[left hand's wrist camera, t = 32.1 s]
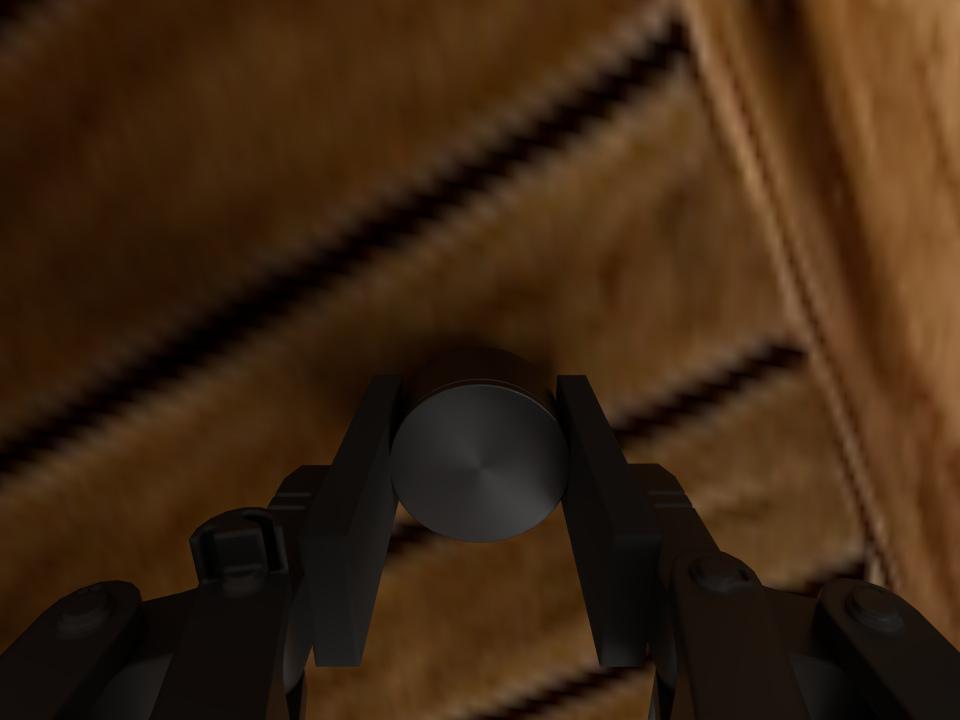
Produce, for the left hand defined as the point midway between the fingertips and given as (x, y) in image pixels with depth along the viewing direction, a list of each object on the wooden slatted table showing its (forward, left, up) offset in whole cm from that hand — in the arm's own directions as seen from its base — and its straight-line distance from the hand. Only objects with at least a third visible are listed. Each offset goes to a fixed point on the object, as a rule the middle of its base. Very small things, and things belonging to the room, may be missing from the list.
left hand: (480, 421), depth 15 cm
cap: (0, 0, +2) cm, 2 cm away
